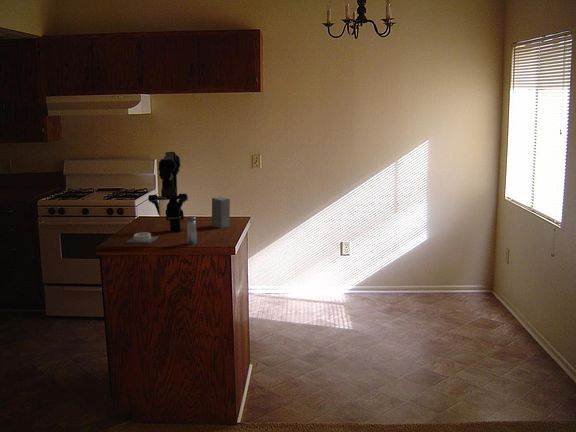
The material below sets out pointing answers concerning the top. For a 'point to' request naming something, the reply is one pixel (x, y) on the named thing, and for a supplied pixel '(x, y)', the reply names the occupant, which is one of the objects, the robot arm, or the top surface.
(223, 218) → the skincare box
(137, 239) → the dock
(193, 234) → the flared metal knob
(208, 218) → the top surface
